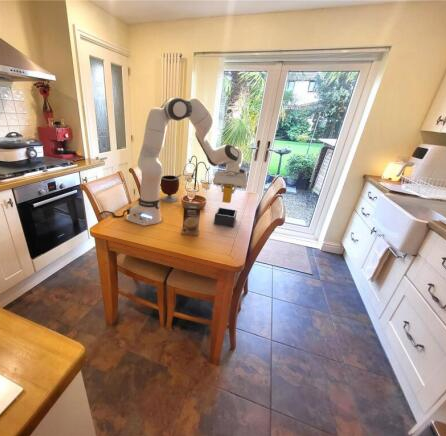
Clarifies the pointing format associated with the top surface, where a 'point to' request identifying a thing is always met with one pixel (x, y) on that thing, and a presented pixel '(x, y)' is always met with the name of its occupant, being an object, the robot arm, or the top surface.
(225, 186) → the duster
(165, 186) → the mate gourd
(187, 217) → the coffee box
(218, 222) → the case
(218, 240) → the top surface
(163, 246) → the top surface
